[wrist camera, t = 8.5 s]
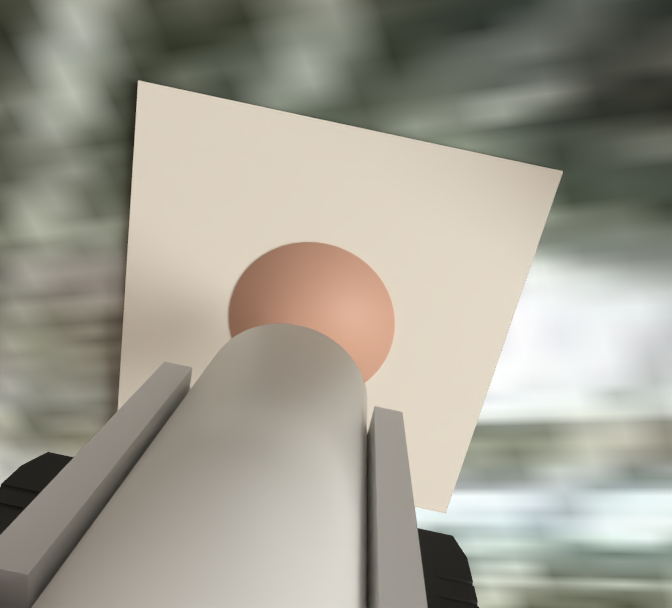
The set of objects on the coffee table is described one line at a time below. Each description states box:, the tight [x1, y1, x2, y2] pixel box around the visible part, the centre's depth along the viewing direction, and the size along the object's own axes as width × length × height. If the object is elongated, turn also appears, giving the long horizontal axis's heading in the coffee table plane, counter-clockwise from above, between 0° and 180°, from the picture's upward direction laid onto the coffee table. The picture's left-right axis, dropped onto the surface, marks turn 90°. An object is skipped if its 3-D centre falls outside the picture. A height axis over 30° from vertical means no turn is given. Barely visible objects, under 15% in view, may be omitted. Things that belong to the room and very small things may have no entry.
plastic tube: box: [31, 323, 367, 608], centre depth 9 cm, size 5×5×12 cm
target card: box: [118, 81, 563, 513], centre depth 21 cm, size 16×16×1 cm
